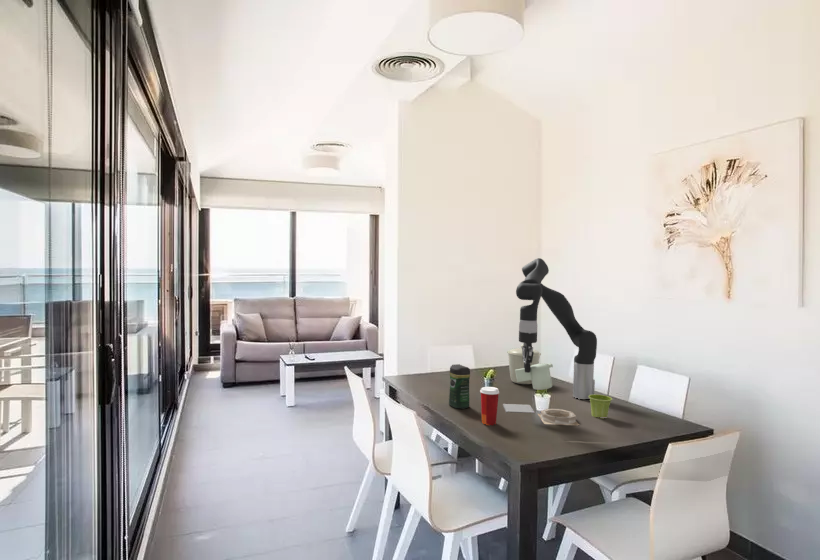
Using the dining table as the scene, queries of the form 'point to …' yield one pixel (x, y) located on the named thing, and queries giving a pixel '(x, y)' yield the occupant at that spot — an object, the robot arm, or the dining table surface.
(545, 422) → the holder
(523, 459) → the dining table surface
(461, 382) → the coffee jar
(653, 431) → the dining table surface
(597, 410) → the plant pot
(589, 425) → the dining table surface
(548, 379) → the pitcher
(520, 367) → the canister
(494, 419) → the paper cup
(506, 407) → the coaster
